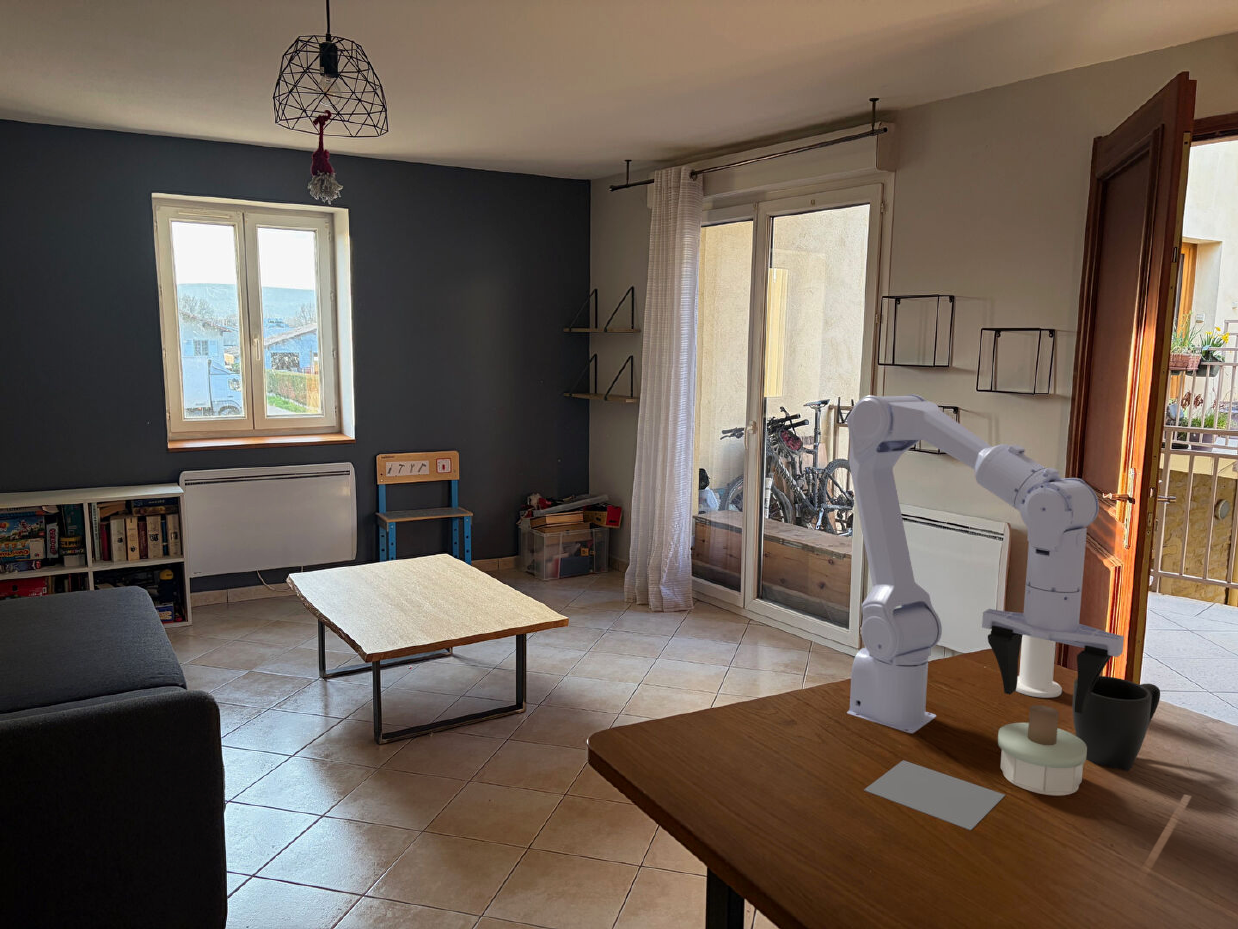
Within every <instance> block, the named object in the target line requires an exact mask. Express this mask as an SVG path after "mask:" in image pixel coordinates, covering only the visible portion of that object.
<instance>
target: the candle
mask: <svg viewBox="0 0 1238 929" xmlns="http://www.w3.org/2000/svg"><path fill="white" fill-rule="evenodd" d="M1056 643H1057V642H1055V641H1050V640H1045V639H1041V638H1036V637H1032V636H1027V635H1023V636H1022V641H1021V646H1020V663H1019V672H1018V674H1019V675H1018V680H1017V687H1016V690H1015V691H1014V692H1017V693H1020V694H1023V695H1025V696H1030V697H1034V698H1043V699H1048V698H1051V699H1052V698H1057V697H1059V696H1061V695H1062V693H1063V688H1062V686H1061V685H1060V684H1059V683H1057V682H1056V681H1055V680H1053V679H1054V669H1055V656H1056Z"/></svg>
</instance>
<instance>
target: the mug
mask: <svg viewBox="0 0 1238 929" xmlns="http://www.w3.org/2000/svg"><path fill="white" fill-rule="evenodd" d="M1077 685H1078V677H1077V678H1076V679H1075V680H1074V682H1073V691H1072V692H1073V694H1072V720H1073V726H1074V731H1075V736H1077V737H1078V738H1080V739H1081V740H1082V741H1083V742H1084V743H1085V744H1086V746H1087V754H1086V761H1088V762H1090V763H1093V764H1095V765H1098V766H1102V767H1104V768H1105V767H1106V768H1110V769H1118V770H1121V771H1124V772H1129V771H1130V770H1132V769H1133V765H1134V762H1135V761H1136V758H1137V757H1138V755H1139V752H1140V751H1141V748H1142V745H1143V743H1144V741H1145V737H1146V734H1147V731H1148V728H1149V725H1150V723H1151V721H1152V719H1153V717H1154V715H1155V713H1156V711H1157V708H1158V706H1159V703H1160V698H1161V690H1160V688H1159V687H1158V686H1157V685H1155V684H1153V683H1142V684H1138V683H1135V682H1132V681H1131V680H1126V679H1123V678H1118V677H1113V676H1106V675H1099V677H1098V679H1097V681H1096V683H1095V685H1094V687H1093V689H1092V692H1091V694H1090V697H1089V701H1088V705H1087V709H1086V710H1085V711H1084V712H1083V713H1077V712H1075V699H1076V693H1077Z"/></svg>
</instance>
